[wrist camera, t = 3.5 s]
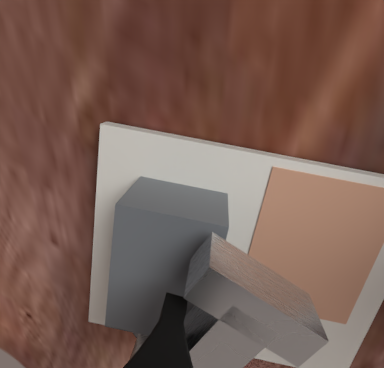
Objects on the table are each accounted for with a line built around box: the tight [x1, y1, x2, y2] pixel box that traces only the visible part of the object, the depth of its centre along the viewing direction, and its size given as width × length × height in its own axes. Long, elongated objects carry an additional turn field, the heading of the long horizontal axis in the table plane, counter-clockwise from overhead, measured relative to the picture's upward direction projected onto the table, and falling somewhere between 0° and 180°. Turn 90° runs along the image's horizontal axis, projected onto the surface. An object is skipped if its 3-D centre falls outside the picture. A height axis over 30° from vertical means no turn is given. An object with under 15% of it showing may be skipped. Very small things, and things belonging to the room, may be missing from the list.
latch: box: [130, 232, 329, 368], centre depth 14 cm, size 5×12×8 cm, turn 147°
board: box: [88, 122, 384, 368], centre depth 18 cm, size 18×15×1 cm
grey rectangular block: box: [105, 176, 229, 336], centre depth 15 cm, size 5×7×4 cm
